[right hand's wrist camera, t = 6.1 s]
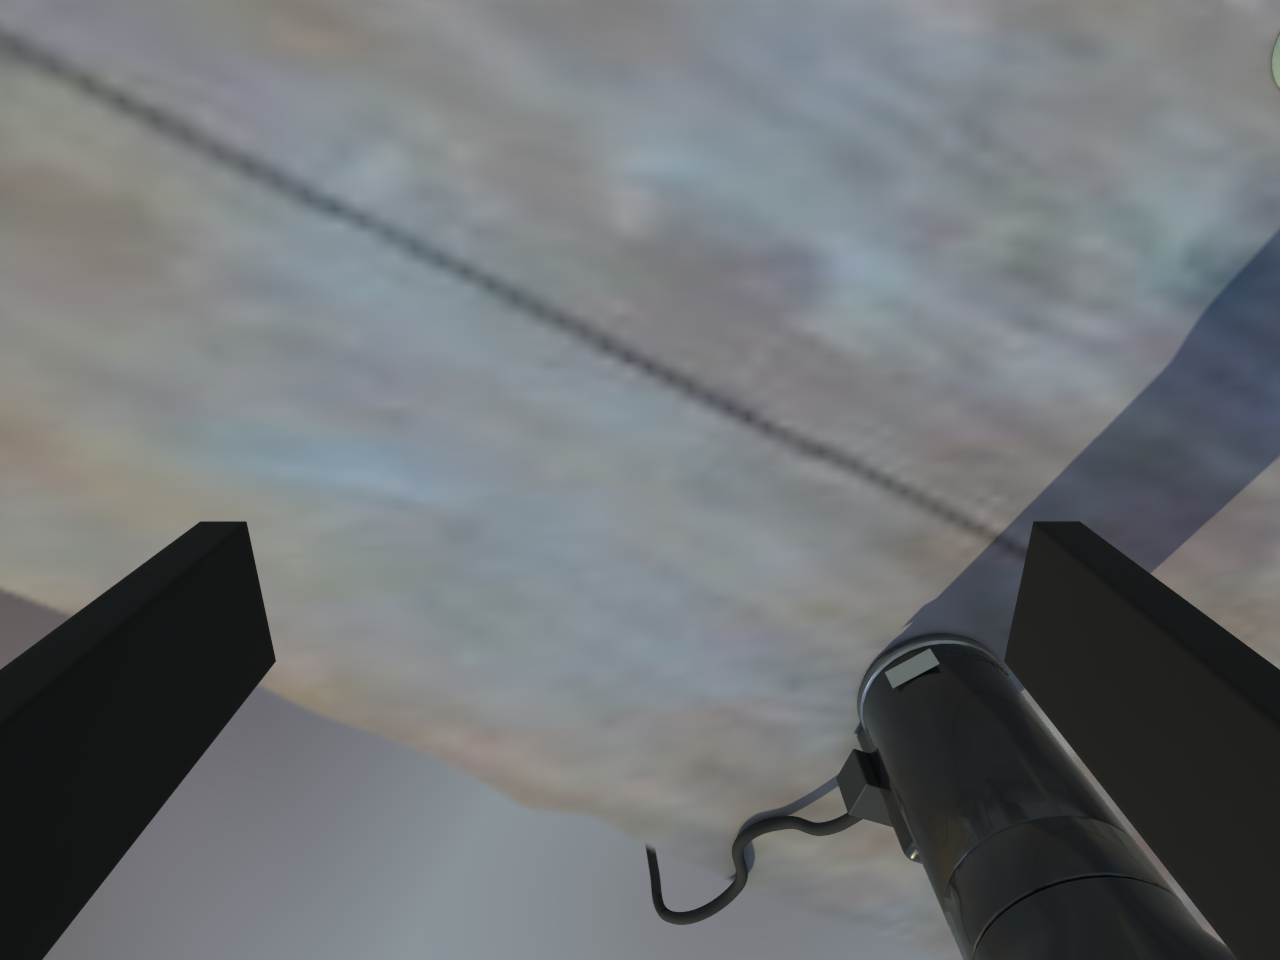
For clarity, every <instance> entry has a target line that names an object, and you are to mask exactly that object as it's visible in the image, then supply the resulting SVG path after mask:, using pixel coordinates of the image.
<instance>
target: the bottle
mask: <svg viewBox="0 0 1280 960" xmlns="http://www.w3.org/2000/svg"><path fill="white" fill-rule="evenodd" d="M1272 71H1273V76H1274V78H1275V81H1276V83H1277V85H1278V86H1279V88H1280V34H1279V36H1278V39H1277V41H1276V44H1275V47H1274V50H1273V56H1272Z"/></svg>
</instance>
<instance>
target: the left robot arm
mask: <svg viewBox="0 0 1280 960" xmlns="http://www.w3.org/2000/svg"><path fill="white" fill-rule="evenodd" d="M857 708H858V714H859V718H860V721H861V724H862V728H861V730H860V732H859V734H858V736H857V738H858V740H859V743H860V745H861V748H862V750H863V751H859V750H856V749H853V750H852V752H851V754H850V756H849V757H848V759H847V761H846V763H845V764H844V766H843V768H842V769H841V771H840V773H839V775H838V776H837V782H838V785H839V788H840V791H841V793H842V796H843V799H844V802H845V805H846V808H847V811H848V813H846V814H844V815H843V816H841V817H839V818H836V819H834V820H831V821H827V822H821V823H814V822H811V821H808V820H805V819H803V818H799V817H795V816H785V817H777V818H772V819H767V820H764V821H761V822H758V823H755V824H753V825H751V826H750V827H748V828H747V829H745V830H744V831H743V832H742V833H741V834H740V835H739V836H738V837H737V838H736V840H735V842H734V844H733V847H732V856H733V860H734V864H735V867H736V873H737V875H736V879H735V881H734V882H733V883H732V884H731V885H730V886H729V887H728V888H727V889H726V890H725V891H724V892H723V893H722V894H721V895H720V896H718V897H717V898H716V899H714V900H713V901H711V902H710V903H708V904H706V905H704V906H702V907H700V908H698V909H695V910H691V911H687V912H673V911H671V910H669V909H668V908H667V907H666V906H665V905H664V902H663V898H662V891H661V880H660V873H659V867H658V861H657V855H656V850H655V849H653V848H650V847H648V846H646V845H645V846H646V853H647V859H648V865H649V872H650V880H651V892H652V900H653V904H654V907H655V910H656V912H657V913H658V915H659V916H660V917H661V918H662V919H663V920H665V921H666V922H669V923H672V924H678V925H686V924H692V923H695V922H698V921H701V920H704V919H706V918H708V917H710V916H712V915H714V914H715V913H717V912H718V911H720V910H721V909H723V908H724V907H725V906H727V905H728V904H729V903H730V902H731V901H732V900H734V898H735V897H736V896H737V895H738V894H739V893H740V892H741V891H742V890H743V888H744V886H745V884H746V882H747V878H748V872H747V867H746V863H745V860H744V855H743V851H744V848H745V846H746V845H747V844H748V843H749V842H750V841H751V840H753V839H754V838H756V837H758V836H760V835H762V834H765V833H768V832H772V831H776V830H783V829H797V830H800V831H803V832H805V833H808V834H811V835H815V836H824V835H830V834H834V833H837V832H840V831H842V830H844V829H846V828H848V827H850V826H852V825H854V824H855V823H857V822H859V821H860V820H862V819H866V820H870V821H873V822H877V823H880V824H884V825H887V826H891V827H894V830H895V832H896V835H897V837H898V840H899V842H900V845H901V847H902V850H903V852H904V854H905V855H906V857H907V858H909V859H910V860H912V861H914V862H917V863H921V864H923V866H924V868H925V871H926V873H927V875H928V878H929V880H930V883H931V885H932V887H933V890H934V892H935V894H936V897H937V899H938V901H939V904H940V906H941V909H942V911H943V913H944V916H945V918H946V920H947V923H948V925H949V927H950V929H951V932H952V934H953V936H954V939H955V941H956V943H957V946H958V948H959V950H960V953H961V955H962V958H963V960H1238V959H1237V958H1236V957H1235V955H1234V954H1233V953H1232V952H1231V950H1230V949H1229V948H1228V947H1227V946H1226V945H1224V944H1223V943H1221V942H1220V941H1218V940H1217V939H1215V938H1214V937H1213V936H1211V935H1210V934H1209V933H1207V932H1206V931H1205V930H1204V929H1203V928H1202V927H1201V926H1200V925H1199V924H1198V922H1197V921H1196V920H1195V919H1194V917H1193V916H1192V915H1191V913H1190V912H1189V911H1188V910H1187V908H1186V907H1185V906H1184V905H1183V903H1182V901H1181V900H1180V899H1179V898H1178V896H1177V895H1176V894H1175V892H1174V891H1173V890H1172V888H1171V887H1170V886H1169V885H1168V883H1167V882H1166V881H1165V879H1164V878H1163V877H1162V875H1161V874H1160V873H1159V872H1158V870H1157V869H1156V868H1155V866H1154V865H1153V864H1152V862H1151V861H1150V860H1149V858H1148V857H1147V856H1146V855H1145V853H1144V852H1143V851H1142V849H1141V848H1140V847H1139V845H1138V844H1137V843H1136V842H1135V841H1134V839H1133V838H1132V837H1131V835H1130V834H1129V833H1128V831H1127V830H1126V829H1125V828H1124V826H1123V825H1122V824H1121V822H1120V821H1119V820H1118V818H1117V817H1116V816H1115V814H1114V813H1113V812H1112V811H1111V809H1110V808H1109V807H1108V805H1107V804H1106V803H1105V801H1104V800H1103V799H1102V798H1101V796H1100V795H1099V794H1098V792H1097V791H1096V790H1095V788H1094V787H1093V786H1092V784H1091V783H1090V782H1089V781H1088V779H1087V778H1086V777H1085V775H1084V774H1083V773H1082V771H1081V770H1080V769H1079V768H1078V766H1077V765H1076V764H1075V762H1074V761H1073V760H1072V758H1071V757H1070V756H1069V755H1068V753H1067V752H1066V751H1065V749H1064V748H1063V747H1062V745H1061V744H1060V743H1059V741H1058V740H1057V739H1056V738H1055V736H1054V735H1053V734H1052V732H1051V731H1050V730H1049V728H1048V727H1047V726H1046V725H1045V723H1044V722H1043V721H1042V719H1041V718H1040V717H1039V715H1038V714H1037V713H1036V711H1035V710H1034V709H1033V708H1032V706H1031V705H1030V704H1029V702H1028V701H1027V700H1026V698H1025V697H1024V696H1023V695H1022V693H1021V692H1020V691H1019V689H1018V688H1017V687H1016V686H1015V684H1014V683H1013V682H1012V680H1011V679H1010V678H1009V675H1008V674H1007V672H1006V670H1005V668H1004V667H1003V666H1002V664H1001V663H1000V662H999V661H998V659H997V658H996V657H995V655H994V654H993V653H992V652H991V651H989V650H988V649H987V648H986V647H984V646H983V645H981V644H980V643H978V642H976V641H974V640H971V639H968V638H965V637H961V636H956V635H947V634H938V635H928V636H923V637H919V638H915V639H912V640H909V641H907V642H904V643H902V644H900V645H898V646H896V647H894V648H893V649H891V650H890V651H888V652H887V653H885V654H884V655H883V656H882V657H881V658H879V659H878V660H877V661H876V662H875V663H874V665H873V666H872V667H871V668H870V670H869V671H868V672H867V674H866V676H865V677H864V679H863V681H862V684H861V686H860V689H859V693H858V700H857Z"/></svg>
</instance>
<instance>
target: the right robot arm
mask: <svg viewBox="0 0 1280 960" xmlns="http://www.w3.org/2000/svg"><path fill="white" fill-rule="evenodd" d="M275 662H276V660H275V655H274V650H273V645H272V641H271V636H270V631H269V626H268V622H267V617H266V612H265V607H264V603H263V598H262V593H261V588H260V584H259V579H258V574H257V570H256V565H255V560H254V555H253V551H252V546H251V541H250V536H249V532H248V527H247V522H199V523H198V524H197V525H195V526H194V527H192V528H191V529H190V530H188V531H187V532H186V533H184V534H183V535H182V536H180V537H179V538H178V539H176V540H175V541H174V542H172V543H171V544H170V545H168V546H167V547H165V548H164V549H163V550H161V551H160V552H159V553H157V554H156V555H155V556H153V557H152V558H151V559H149V560H148V561H147V562H145V563H144V564H143V565H141V566H140V567H138V568H137V569H136V570H134V571H133V572H132V573H130V574H129V575H128V576H126V577H125V578H124V579H122V580H121V581H120V582H118V583H117V584H116V585H114V586H113V587H111V588H110V589H109V590H107V591H106V592H105V593H103V594H102V595H101V596H99V597H98V598H97V599H95V600H94V601H93V602H91V603H90V604H89V605H87V606H86V607H84V608H83V609H82V610H80V611H79V612H78V613H76V614H75V615H74V616H72V617H71V618H70V619H68V620H67V621H66V622H64V623H63V624H62V625H60V626H59V627H57V628H56V629H55V630H53V631H52V632H51V633H49V634H48V635H47V636H45V637H44V638H43V639H41V640H40V641H39V642H37V643H36V644H35V645H33V646H32V647H31V648H29V649H28V650H26V651H25V652H24V653H22V654H21V655H20V656H18V657H17V658H16V659H14V660H13V661H12V662H10V663H9V664H8V665H6V666H5V667H3V668H2V669H1V670H0V960H42V959H43V958H44V957H45V955H46V954H47V953H48V952H49V950H50V949H51V948H52V947H53V945H54V944H55V943H56V941H57V940H58V939H59V938H60V936H61V935H62V934H63V932H64V931H65V930H66V929H67V927H68V926H69V925H70V924H71V922H72V921H73V920H74V918H75V917H76V916H77V915H78V913H79V912H80V911H81V909H82V908H83V907H84V906H85V904H86V903H87V902H88V901H89V899H90V898H91V897H92V895H93V894H94V893H95V892H96V890H97V889H98V888H99V886H100V885H101V884H102V883H103V881H104V880H105V879H106V878H107V876H108V875H109V874H110V872H111V871H112V870H113V869H114V867H115V866H116V865H117V863H118V862H119V861H120V860H121V858H122V857H123V856H124V854H125V853H126V852H127V851H128V849H129V848H130V847H131V846H132V844H133V843H134V842H135V841H136V839H137V838H138V837H139V835H140V834H141V833H142V832H143V830H144V829H145V828H146V826H147V825H148V824H149V823H150V821H151V820H152V819H153V818H154V816H155V815H156V814H157V812H158V811H159V810H160V809H161V807H162V806H163V805H164V803H165V802H166V801H167V800H168V798H169V797H170V796H171V794H172V793H173V792H174V791H175V789H176V788H177V787H178V786H179V784H180V783H181V782H182V780H183V779H184V778H185V777H186V775H187V774H188V773H189V772H190V770H191V769H192V768H193V766H194V765H195V764H196V763H197V761H198V760H199V759H200V757H201V756H202V755H203V754H204V752H205V751H206V750H207V749H208V747H209V746H210V745H211V743H212V742H213V741H214V740H215V738H216V737H217V736H218V734H219V733H220V732H221V731H222V729H223V728H224V727H225V726H226V724H227V723H228V722H229V720H230V719H231V718H232V717H233V715H234V714H235V713H236V711H237V710H238V709H239V708H240V706H241V705H242V704H243V703H244V701H245V700H246V699H247V697H248V696H249V695H250V694H251V692H252V691H253V690H254V688H255V687H256V686H257V685H258V683H259V682H260V681H261V680H262V678H263V677H264V676H265V674H266V673H267V672H268V671H269V669H270V668H271V667H272V665H273V664H274V663H275ZM1004 662H1005V663H1006V664H1007V665H1008V667H1009V668H1010V669H1011V671H1012V672H1013V673H1014V674H1015V676H1016V677H1017V678H1018V680H1019V681H1020V682H1021V683H1022V685H1023V686H1024V687H1025V688H1026V690H1027V691H1028V692H1029V694H1030V695H1031V696H1032V697H1033V699H1034V700H1035V701H1036V703H1037V704H1038V705H1039V706H1040V708H1041V709H1042V710H1043V711H1044V713H1045V714H1046V715H1047V717H1048V718H1049V719H1050V720H1051V722H1052V723H1053V724H1054V726H1055V727H1056V728H1057V729H1058V731H1059V732H1060V733H1061V734H1062V736H1063V737H1064V738H1065V740H1066V741H1067V742H1068V743H1069V745H1070V746H1071V747H1072V749H1073V750H1074V751H1075V752H1076V754H1077V755H1078V756H1079V757H1080V759H1081V760H1082V761H1083V763H1084V764H1085V765H1086V766H1087V768H1088V769H1089V770H1090V772H1091V773H1092V774H1093V775H1094V777H1095V778H1096V779H1097V780H1098V782H1099V783H1100V784H1101V786H1102V787H1103V788H1104V789H1105V791H1106V792H1107V793H1108V795H1109V796H1110V797H1111V798H1112V800H1113V801H1114V802H1115V803H1116V805H1117V806H1118V807H1119V809H1120V810H1121V811H1122V812H1123V814H1124V815H1125V816H1126V818H1127V819H1128V820H1129V821H1130V823H1131V824H1132V825H1133V826H1134V828H1135V829H1136V830H1137V832H1138V833H1139V834H1140V835H1141V837H1142V838H1143V839H1144V841H1145V842H1146V843H1147V844H1148V846H1149V847H1150V848H1151V849H1152V851H1153V852H1154V853H1155V855H1156V856H1157V857H1158V858H1159V860H1160V861H1161V862H1162V863H1163V865H1164V866H1165V867H1166V869H1167V870H1168V871H1169V872H1170V874H1171V875H1172V876H1173V878H1174V879H1175V880H1176V881H1177V883H1178V884H1179V885H1180V886H1181V888H1182V889H1183V890H1184V892H1185V893H1186V894H1187V895H1188V897H1189V898H1190V899H1191V901H1192V902H1193V903H1194V904H1195V906H1196V907H1197V908H1198V909H1199V911H1200V912H1201V913H1202V915H1203V916H1204V917H1205V918H1206V920H1207V921H1208V922H1209V924H1210V925H1211V926H1212V927H1213V929H1214V930H1215V931H1216V932H1217V934H1218V935H1219V936H1220V938H1221V939H1222V940H1223V941H1224V943H1225V944H1226V945H1227V947H1228V948H1229V949H1230V950H1231V952H1232V953H1233V954H1234V955H1235V957H1236V958H1237V959H1238V960H1280V670H1279V669H1278V668H1277V667H1275V666H1274V665H1272V664H1271V663H1270V662H1268V661H1267V660H1266V659H1264V658H1263V657H1262V656H1260V655H1259V654H1258V653H1256V652H1255V651H1254V650H1252V649H1251V648H1250V647H1248V646H1247V645H1245V644H1244V643H1243V642H1241V641H1240V640H1239V639H1237V638H1236V637H1235V636H1233V635H1232V634H1231V633H1229V632H1228V631H1227V630H1225V629H1224V628H1223V627H1221V626H1220V625H1218V624H1217V623H1216V622H1214V621H1213V620H1212V619H1210V618H1209V617H1208V616H1206V615H1205V614H1204V613H1202V612H1201V611H1200V610H1198V609H1197V608H1196V607H1194V606H1193V605H1191V604H1190V603H1189V602H1187V601H1186V600H1185V599H1183V598H1182V597H1181V596H1179V595H1178V594H1177V593H1175V592H1174V591H1173V590H1171V589H1170V588H1169V587H1167V586H1166V585H1164V584H1163V583H1162V582H1160V581H1159V580H1158V579H1156V578H1155V577H1154V576H1152V575H1151V574H1150V573H1148V572H1147V571H1146V570H1144V569H1143V568H1142V567H1140V566H1139V565H1137V564H1136V563H1135V562H1133V561H1132V560H1131V559H1129V558H1128V557H1127V556H1125V555H1124V554H1123V553H1121V552H1120V551H1119V550H1117V549H1116V548H1115V547H1113V546H1112V545H1110V544H1109V543H1108V542H1106V541H1105V540H1104V539H1102V538H1101V537H1100V536H1098V535H1097V534H1096V533H1094V532H1093V531H1092V530H1090V529H1089V528H1088V527H1086V526H1085V525H1083V524H1082V523H1081V522H1033V527H1032V532H1031V536H1030V541H1029V546H1028V551H1027V555H1026V560H1025V565H1024V570H1023V574H1022V579H1021V584H1020V588H1019V593H1018V598H1017V603H1016V607H1015V612H1014V617H1013V622H1012V626H1011V631H1010V636H1009V641H1008V645H1007V650H1006V655H1005V660H1004Z"/></svg>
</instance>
